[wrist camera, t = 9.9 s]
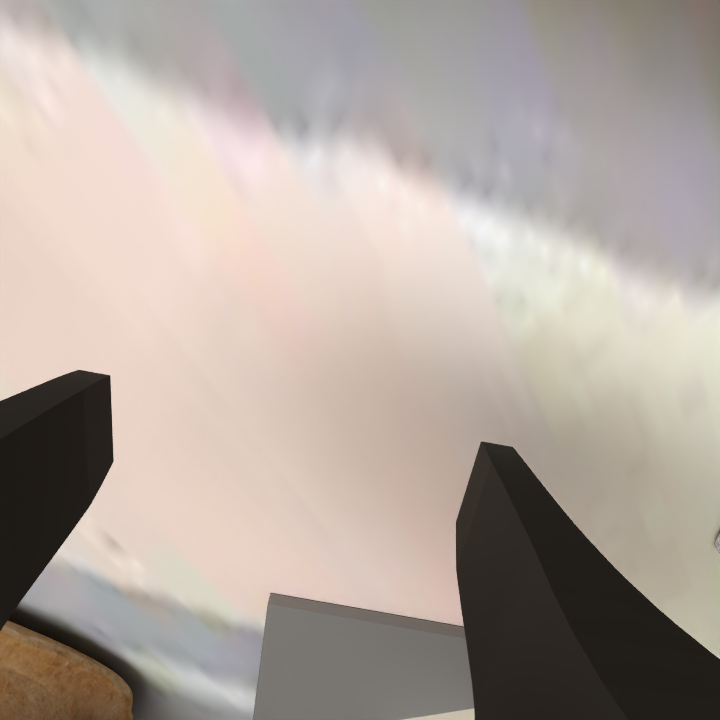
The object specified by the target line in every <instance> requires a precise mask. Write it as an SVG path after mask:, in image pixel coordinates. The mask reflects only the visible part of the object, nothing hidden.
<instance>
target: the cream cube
mask: <svg viewBox="0 0 720 720" xmlns="http://www.w3.org/2000/svg"><path fill="white" fill-rule="evenodd" d="M404 720H475V712H474V709H467V710H461V711H454V712H448V713H442V714H435V715H429V716H423V717H416V718H410V719H404Z"/></svg>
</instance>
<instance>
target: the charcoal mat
mask: <svg viewBox="0 0 720 720" xmlns="http://www.w3.org/2000/svg"><path fill="white" fill-rule="evenodd" d="M467 709H474V700H473V690H472V680H471V673H470V666H469V659H468V651H467V644H466V637H465V630H464V627H460V626H454V625H449V624H443V623H437V622H432V621H426V620H420V619H415V618H409V617H403V616H398V615H392V614H386V613H381V612H375V611H369V610H363V609H358V608H352V607H346V606H341V605H335V604H329V603H324V602H318V601H312V600H307V599H301V598H295V597H289V596H284V595H278V594H272V593H271V594H270V597H269V601H268V606H267V614H266V622H265V630H264V637H263V645H262V653H261V661H260V669H259V676H258V684H257V692H256V700H255V707H254V715H253V720H404V719H410V718H416V717H423V716H429V715H435V714H442V713H448V712H454V711H461V710H467Z"/></svg>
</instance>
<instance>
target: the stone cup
mask: <svg viewBox="0 0 720 720" xmlns="http://www.w3.org/2000/svg"><path fill="white" fill-rule="evenodd" d="M132 705H133V694H132V692H131V689H130V687H129V686H128V685H127V684H126V682H125V681H124V680H123V679H122V678H121V677H120V676H119V675H117V674H116V673H115V672H114V671H112V670H111V669H109V668H107V667H106V666H104V665H103V664H101V663H99V662H98V661H96V660H94V659H92V658H91V657H89V656H87V655H85V654H83V653H81V652H79V651H77V650H75V649H73V648H71V647H69V646H66V645H64V644H62V643H60V642H57V641H55V640H53V639H51V638H48V637H46V636H44V635H41V634H39V633H37V632H34V631H32V630H30V629H27V628H25V627H23V626H20V625H18V624H16V623H13V622H10V621H8V620H7V622H6V623H5V625H4V626H3V628H2V630H1V631H0V720H133V714H132V710H131V708H132Z"/></svg>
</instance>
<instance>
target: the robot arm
mask: <svg viewBox="0 0 720 720" xmlns="http://www.w3.org/2000/svg"><path fill="white" fill-rule="evenodd" d="M112 463H113V437H112V410H111V384H110V375H104V374H99V373H93V372H88V371H82V370H77V371H74V372H71V373H68V374H65V375H63V376H60V377H57V378H55V379H52V380H50V381H47V382H45V383H43V384H40V385H38V386H35V387H33V388H31V389H28V390H26V391H24V392H21V393H19V394H16V395H14V396H12V397H9V398H7V399H4V400H2V401H0V631H1V630H2V628H3V626H4V625H5V623H6V622H7V620H8V619H9V617H10V616H11V614H12V613H13V611H14V610H15V608H16V607H17V606H18V604H19V603H20V601H21V600H22V598H23V597H24V596H25V594H26V593H27V592H28V590H29V589H30V588H31V586H32V585H33V583H34V582H35V581H36V579H37V578H38V577H39V575H40V574H41V573H42V571H43V570H44V568H45V567H46V566H47V564H48V563H49V562H50V560H51V559H52V558H53V556H54V555H55V553H56V552H57V551H58V549H59V548H60V547H61V545H62V544H63V543H64V541H65V540H66V538H67V537H68V536H69V534H70V533H71V531H72V530H73V529H74V527H75V526H76V525H77V523H78V522H79V520H80V519H81V518H82V516H83V515H84V513H85V512H86V510H87V509H88V508H89V506H90V505H91V503H92V501H93V499H94V497H95V496H96V494H97V492H98V490H99V488H100V487H101V485H102V483H103V481H104V479H105V477H106V475H107V473H108V471H109V469H110V467H111V465H112ZM715 546H716V548H717V550H718V551H719V553H720V534H719V536H718V538H717V539H716V542H715ZM456 570H457V578H458V586H459V594H460V601H461V609H462V616H463V623H464V630H465V637H466V644H467V651H468V659H469V666H470V673H471V680H472V690H473V700H474V712H475V720H720V659H719V658H717V657H716V656H715V655H713V654H712V653H711V652H710V651H708V650H707V649H706V648H705V647H703V646H702V645H701V644H700V643H699V642H697V641H696V640H695V639H694V638H692V637H691V636H690V635H689V634H687V633H686V632H685V631H684V630H682V629H681V628H680V627H679V626H678V625H676V624H675V623H674V622H673V621H672V620H671V619H669V618H668V617H667V616H666V615H665V614H664V613H662V612H661V611H660V610H659V609H658V608H657V607H656V606H655V605H653V604H652V603H651V602H650V601H649V600H648V599H647V598H646V597H645V596H644V595H643V594H642V593H641V592H639V591H638V590H637V589H636V588H635V587H634V586H633V585H632V584H631V583H630V582H629V581H628V580H627V579H626V578H625V577H624V576H623V575H622V574H621V573H620V572H619V571H618V570H617V569H616V568H615V567H614V566H613V565H612V564H611V563H610V562H609V561H608V560H607V559H606V558H605V557H604V556H603V555H602V554H601V553H600V552H599V551H598V549H597V548H596V547H595V546H594V545H593V544H592V543H591V542H590V541H589V540H588V539H587V538H586V536H585V535H584V534H583V533H582V532H581V531H580V530H579V528H578V527H577V526H576V525H575V524H574V523H573V522H572V520H571V519H570V518H569V517H568V516H567V514H566V513H565V512H564V511H563V510H562V508H561V507H560V506H559V505H558V504H557V502H556V501H555V500H554V499H553V497H552V496H551V495H550V494H549V492H548V491H547V490H546V489H545V487H544V486H543V485H542V483H541V482H540V481H539V480H538V478H537V477H536V476H535V475H534V473H533V472H532V471H531V469H530V468H529V467H528V466H527V464H526V463H525V462H524V460H523V459H522V458H521V457H520V455H519V454H518V453H517V452H516V451H515V449H514V448H513V447H509V446H504V445H498V444H493V443H487V442H481V444H480V447H479V450H478V453H477V456H476V460H475V463H474V466H473V469H472V473H471V476H470V479H469V482H468V485H467V489H466V492H465V495H464V498H463V502H462V505H461V508H460V511H459V514H458V518H457V521H456Z"/></svg>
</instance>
